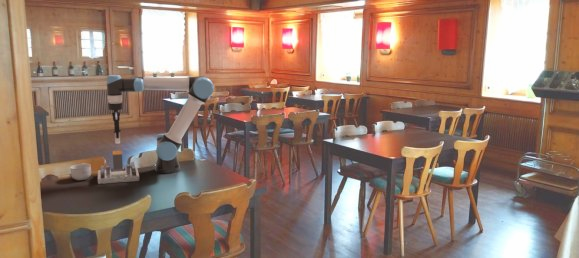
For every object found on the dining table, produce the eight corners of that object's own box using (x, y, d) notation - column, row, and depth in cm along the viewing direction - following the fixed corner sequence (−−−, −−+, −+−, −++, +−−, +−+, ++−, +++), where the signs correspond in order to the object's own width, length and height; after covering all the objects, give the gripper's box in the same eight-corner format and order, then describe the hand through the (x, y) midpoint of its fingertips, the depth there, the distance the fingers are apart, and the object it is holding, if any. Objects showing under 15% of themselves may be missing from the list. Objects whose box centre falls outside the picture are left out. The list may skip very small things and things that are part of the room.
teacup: (86, 182, 264) (85, 168, 262) (67, 181, 264) (66, 167, 262) (96, 175, 277) (96, 162, 276) (78, 174, 278) (77, 161, 276)
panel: (137, 172, 285) (136, 160, 283) (139, 180, 268) (138, 168, 267) (98, 175, 277) (97, 163, 275) (98, 184, 260) (97, 171, 259)
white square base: (134, 167, 284) (134, 161, 283) (136, 176, 267) (136, 170, 266) (100, 170, 277) (100, 164, 277) (100, 178, 260) (100, 172, 259)
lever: (125, 170, 274) (124, 150, 275) (125, 170, 272) (124, 150, 274) (110, 171, 271) (109, 151, 272) (110, 171, 269) (109, 151, 271)
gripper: (108, 101, 268) (110, 141, 273) (108, 104, 256) (111, 146, 261) (121, 100, 271) (124, 140, 275) (122, 103, 259) (125, 145, 263)
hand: (117, 143), depth 268 cm, fingers closed
